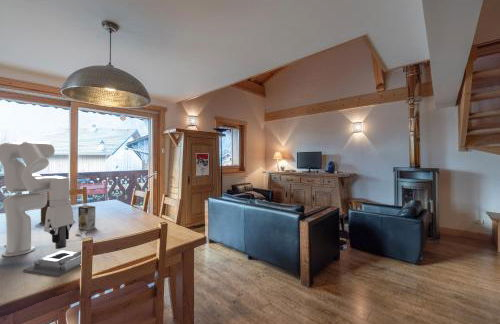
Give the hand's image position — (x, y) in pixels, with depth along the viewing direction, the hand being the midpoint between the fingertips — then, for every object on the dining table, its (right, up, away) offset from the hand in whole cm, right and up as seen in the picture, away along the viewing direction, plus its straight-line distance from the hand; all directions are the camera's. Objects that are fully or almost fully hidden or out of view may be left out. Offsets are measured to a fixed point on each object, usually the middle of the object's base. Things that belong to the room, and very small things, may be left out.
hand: (60, 240), depth 109 cm
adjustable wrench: (-18, -12, +38) cm, 44 cm away
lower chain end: (-2, -11, +1) cm, 12 cm away
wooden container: (-70, -10, +76) cm, 104 cm away
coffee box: (-29, -11, +57) cm, 65 cm away
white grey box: (+1, -12, 0) cm, 12 cm away
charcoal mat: (-2, -12, +1) cm, 13 cm away
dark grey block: (0, -3, 0) cm, 3 cm away
